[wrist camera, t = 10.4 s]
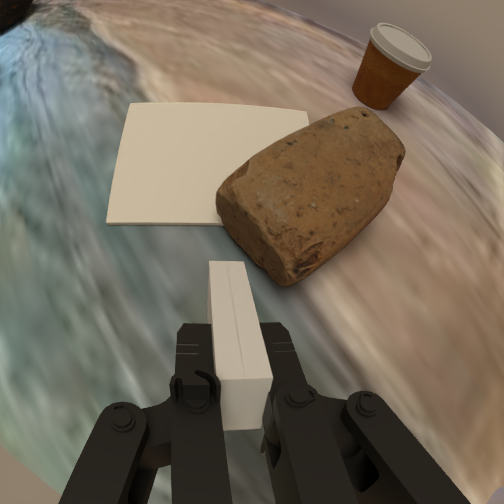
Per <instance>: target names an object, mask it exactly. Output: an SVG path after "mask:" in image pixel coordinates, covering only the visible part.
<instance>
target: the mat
mask: <svg viewBox="0 0 504 504" xmlns="http://www.w3.org/2000/svg"><path fill="white" fill-rule="evenodd" d="M308 125H309V121H308V117H307V112H305V111H298V110H290V109H282V108H273V107H263V106H252V105H239V104H222V103H195V102H154V103H130V106H129V110H128V114H127V118H126V122H125V126H124V130H123V134H122V138H121V143H120V147H119V152H118V156H117V161H116V166H115V171H114V177H113V182H112V188H111V194H110V200H109V206H108V213H107V220H106V223H107V225H206V226H224V225H223V223H222V221H221V217H220V216H219V215H218V214H217V211H216V204H215V199H216V192H217V190H218V188H219V187H220V186H221V184H222V183H223V181H224V180H225V179H226V178H227V177H228V176H230V175H231V174H232V173H233V172H234V171H235V170H236V169H238V168H239V167H240V166H242V165H243V164H244V163H245V162H246V161H247V160H249V159H250V158H251V157H252V156H253V155H255V154H257V153H258V152H260V151H261V150H263V149H265V148H266V147H268V146H270V145H271V144H273V143H274V142H276V141H278V140H280V139H282V138H284V137H285V136H287V135H289V134H291V133H293V132H295V131H297V130H300V129H302V128H304V127H306V126H308Z"/></svg>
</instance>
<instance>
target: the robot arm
mask: <svg viewBox="0 0 504 504" xmlns="http://www.w3.org/2000/svg"><path fill="white" fill-rule="evenodd" d="M207 312H208V324H191V323H184V324H183V325H182V327H181V328H180V329H179V331H178V332H177V346H176V363H175V374H174V375H173V376H172V378H171V381H170V384H169V386H170V393H171V396H170V397H169V398H168V399H167V400H166V401H165V402H163V403H161V404H159V405H156V406H152V407H148V408H143V409H140V408H139V407H138V406H136V405H134V404H132V403H128V402H117V403H113V404H111V405H109V406H107V407H106V408H105V409H104V410H103V411H102V413H101V414H100V416H99V418H98V420H97V422H96V424H95V426H94V428H93V430H92V432H91V434H90V436H89V438H88V440H87V442H86V444H85V446H84V449H83V451H82V453H81V455H80V457H79V459H78V461H77V463H76V465H75V468H74V470H73V472H72V474H71V476H70V479H69V481H68V483H67V485H66V487H65V490H64V492H63V494H62V497H61V499H60V501H59V503H58V504H147V503H148V499H149V496H150V493H151V490H152V486H153V483H154V480H155V477H156V473H157V470H158V468H160V467H164V466H168V465H171V487H172V504H233V503H232V496H231V489H230V482H229V474H228V466H227V458H226V450H225V442H224V433H223V430H245V429H260V428H261V426H262V422H263V425H264V430H265V434H264V438H263V441H262V445H261V452H260V453H264V450H265V453H266V458H267V463H268V468H269V473H270V478H271V482H272V487H273V492H274V497H275V501H276V504H471V503H470V502H469V501H468V499H467V498H466V497H465V496H464V495H463V494H462V492H461V491H460V490H459V489H458V488H457V486H456V485H455V484H454V483H453V482H452V480H451V479H450V478H449V477H448V476H447V475H446V473H445V472H444V471H443V470H442V469H441V467H440V466H439V465H438V464H437V463H436V462H435V460H434V459H433V458H432V457H431V456H430V454H429V453H428V452H427V451H426V450H425V449H424V447H423V446H422V445H421V444H420V443H419V441H418V440H417V439H416V438H415V437H414V436H413V434H412V433H411V432H410V431H409V430H408V428H407V427H406V426H405V425H404V424H403V423H402V421H401V420H400V419H399V418H398V417H397V416H396V414H395V413H394V412H393V411H392V410H391V408H390V407H389V406H388V405H387V404H386V403H385V401H384V400H383V399H382V398H381V397H379V396H378V395H377V394H374V393H372V392H369V391H359V392H355V393H353V394H352V395H350V396H349V398H348V400H343V399H336V398H329V397H325V396H322V395H320V394H318V393H317V391H316V390H315V389H314V388H313V387H311V386H310V385H308V383H307V382H306V379H305V376H304V373H303V371H302V368H301V365H300V362H299V359H298V357H297V354H296V352H295V348H294V345H293V343H292V340H291V337H290V334H289V331H288V330H287V329H286V328H285V327H284V326H283V325H282V324H281V323H280V322H275V323H259V321H258V317H257V313H256V309H255V305H254V301H253V297H252V293H251V289H250V285H249V281H248V277H247V273H246V269H245V265H244V262H237V261H209V279H208V310H207Z"/></svg>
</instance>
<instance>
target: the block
mask: <svg viewBox="0 0 504 504" xmlns="http://www.w3.org/2000/svg"><path fill="white" fill-rule="evenodd" d="M405 152H406V150H405V148H404V145H403V144H402V142H401V141H400V139H399V138H398V137H397V135H396V134H395V133H394V132H393V131H392V130H391V129H390V128H389V127H388V126H387V125H386V124H385V123H384V122H383V121H382V120H381V119H380V118H379V117H378V116H377V115H376V114H375V113H373V112H372V111H371V110H369V109H367V108H364V107H353V108H349V109H346V110H343V111H340V112H337V113H335V114H332V115H330V116H328V117H325V118H323V119H321V120H319V121H317V122H314V123H312V124H310V125H308V126H306V127H304V128H302V129H300V130H297V131H295V132H293V133H291V134H289V135H287V136H285V137H284V138H282V139H280V140H278V141H276V142H274V143H273V144H271V145H270V146H268V147H266V148H265V149H263V150H261V151H260V152H258V153H257V154H255V155H253V156H252V157H251V158H250V159H249V160H247V161H246V162H245V163H244V164H243V165H242V166H240V167H239V168H238V169H236V170H235V171H234V172H233V173H232V174H231V175H230V176H228V177H227V178H226V179H225V180H224V181H223V183H222V184H221V186H220V187H219V188H218V190H217V192H216V199H215V204H216V211H217V214H218V215H219V216H220V217H221V221H222V223H223V225H224V226H225V228H226V229H227V231H228V232H229V234H230V235H231V236H232V238H233V239H234V240H235V241H236V242H237V243H238V244H239V245H240V246H241V247H242V248H243V249H244V251H245V252H246V253H247V254H248V255H249V256H250V257H251V258H252V260H253V261H254V262H255V263H256V264H257V265H258V266H260V267H262V268H264V269H265V270H266V271H267V272H268V274H269V276H270V277H271V278H272V279H274V280H275V281H276V282H277V283H278V284H280V285H282V286H289V285H293V284H295V283H297V282H299V281H300V280H302V279H304V278H305V277H307V276H308V275H310V274H311V273H313V272H314V271H315V270H317V269H318V268H319V267H321V266H322V265H323V264H325V263H326V262H327V261H328V260H330V259H331V258H332V257H333V256H334V255H335V254H337V253H338V252H339V251H340V250H341V249H342V248H344V247H345V246H346V245H347V244H348V243H349V242H350V241H351V240H352V239H353V238H354V237H355V236H356V235H357V234H359V233H360V232H361V231H362V230H363V229H364V228H365V227H366V226H367V225H368V224H369V223H370V222H371V221H372V220H373V219H374V218H375V217H376V216H377V215H378V214H379V213H380V211H381V210H382V209H383V208H384V206H385V205H386V204H387V202H388V201H389V198H390V195H391V192H392V189H393V183H394V180H395V176H396V172H397V171H398V170H399V168H400V165H401V163H402V160H403V159H404V156H405Z"/></svg>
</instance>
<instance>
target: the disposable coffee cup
mask: <svg viewBox="0 0 504 504" xmlns="http://www.w3.org/2000/svg"><path fill="white" fill-rule="evenodd" d="M431 60H432V56H431V54H430V52H429V51H428V49H427V48H426V47H425V46H424V45H423V44H422V43H421V42H420V41H419V40H417V39H416V38H415V37H414V36H412V35H411V34H409V33H408V32H406V31H405V30H403V29H401V28H399V27H396V26H394V25H391V24H388V23H379V24H378V25H377V26H376V27H374V28H372V29H371V30H370V41H369V43H368V46H367V49H366V52H365V54H364V57H363V60H362V63H361V65H360V68H359V71H358V73H357V76H356V79H355V81H354V84H353V87H352V89H353V92H354V94H355V95H356V97H357V98H358V99H359V100H360V101H361V102H362V103H364V104H365V105H367V106H369V107H371V108H373V109H376V110H384V109H386V108H387V107H388V106H389V105H390V104H391V103H392V102H393V101H394V100H395V99H396V98H397V97H398V96H399V95H400V94H401V93H402V92H403V91H404V90H405V89H406V88H407V87H408V86H409V85H410V84H411V83H412V82H413V81H414V80H415V79H416V78H417V77H418V76H419V75H420V74H421V73H423V72H425V71H428V70H429V69H430V63H431Z"/></svg>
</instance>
